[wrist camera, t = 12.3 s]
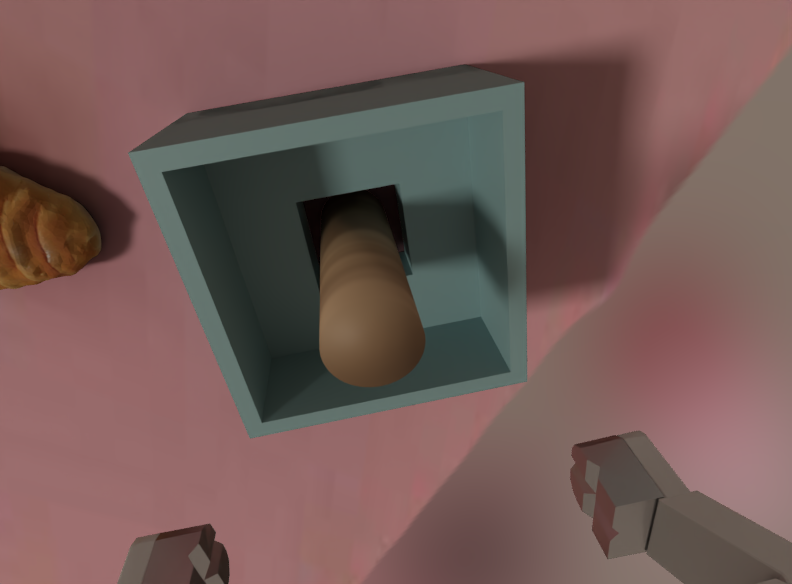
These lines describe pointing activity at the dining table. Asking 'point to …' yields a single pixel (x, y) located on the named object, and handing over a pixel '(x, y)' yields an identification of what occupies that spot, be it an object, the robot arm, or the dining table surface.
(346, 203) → the peg
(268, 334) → the box
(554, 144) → the dining table surface
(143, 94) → the dining table surface
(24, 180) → the pastry
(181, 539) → the robot arm
